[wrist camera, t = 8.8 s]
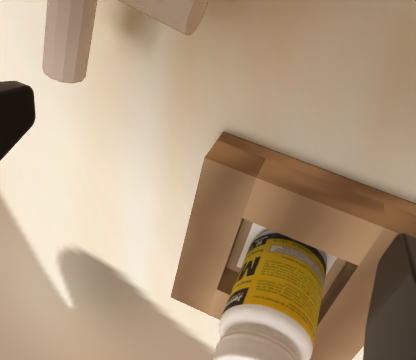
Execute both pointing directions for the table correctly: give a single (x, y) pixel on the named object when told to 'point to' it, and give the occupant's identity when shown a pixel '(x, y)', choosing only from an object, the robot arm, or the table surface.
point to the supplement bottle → (273, 302)
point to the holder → (288, 234)
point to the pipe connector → (83, 27)
